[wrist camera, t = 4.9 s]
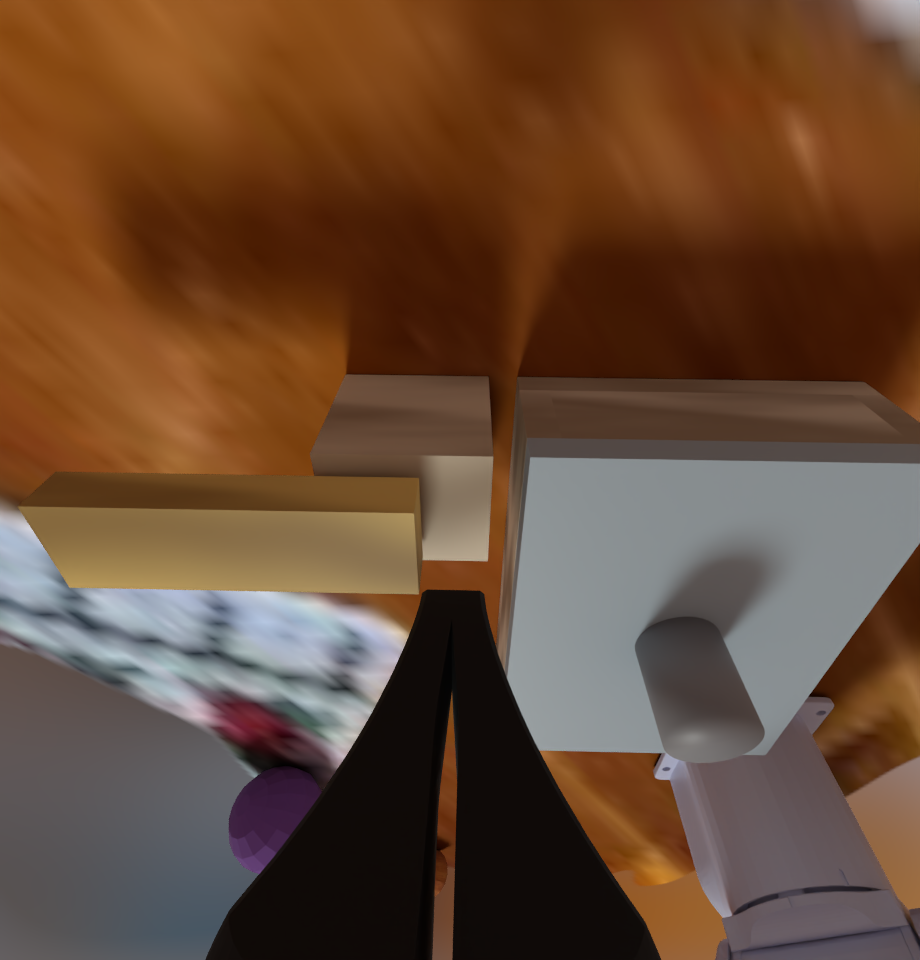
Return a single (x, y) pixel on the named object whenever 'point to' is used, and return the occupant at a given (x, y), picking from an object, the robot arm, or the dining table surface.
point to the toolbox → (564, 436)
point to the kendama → (280, 817)
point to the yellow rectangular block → (231, 531)
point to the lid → (695, 585)
